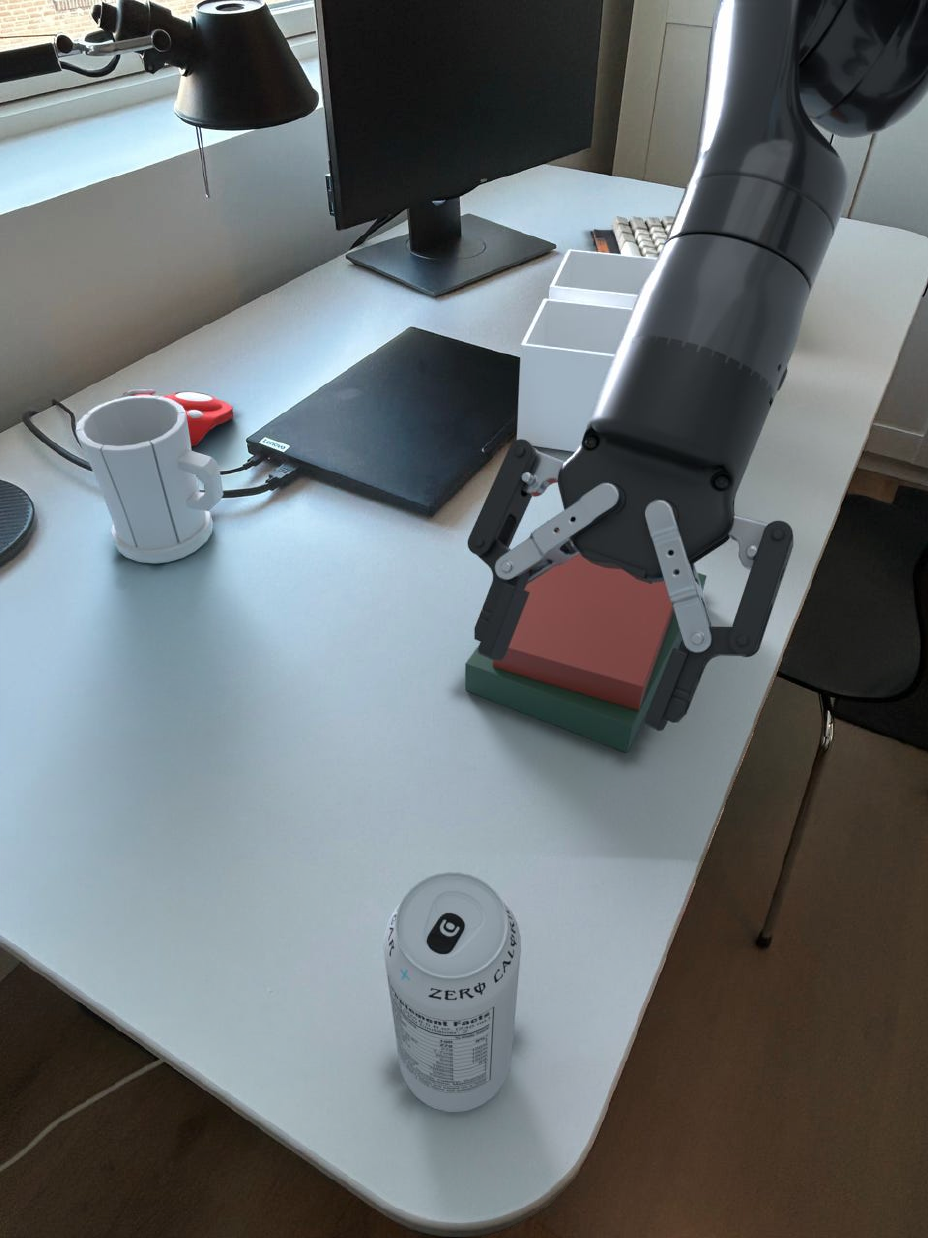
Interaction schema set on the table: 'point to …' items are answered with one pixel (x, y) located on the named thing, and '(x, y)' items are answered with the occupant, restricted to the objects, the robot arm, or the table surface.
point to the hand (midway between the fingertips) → (568, 691)
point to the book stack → (584, 652)
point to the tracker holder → (196, 411)
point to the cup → (150, 477)
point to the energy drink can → (453, 989)
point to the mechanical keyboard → (633, 236)
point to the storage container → (575, 344)
